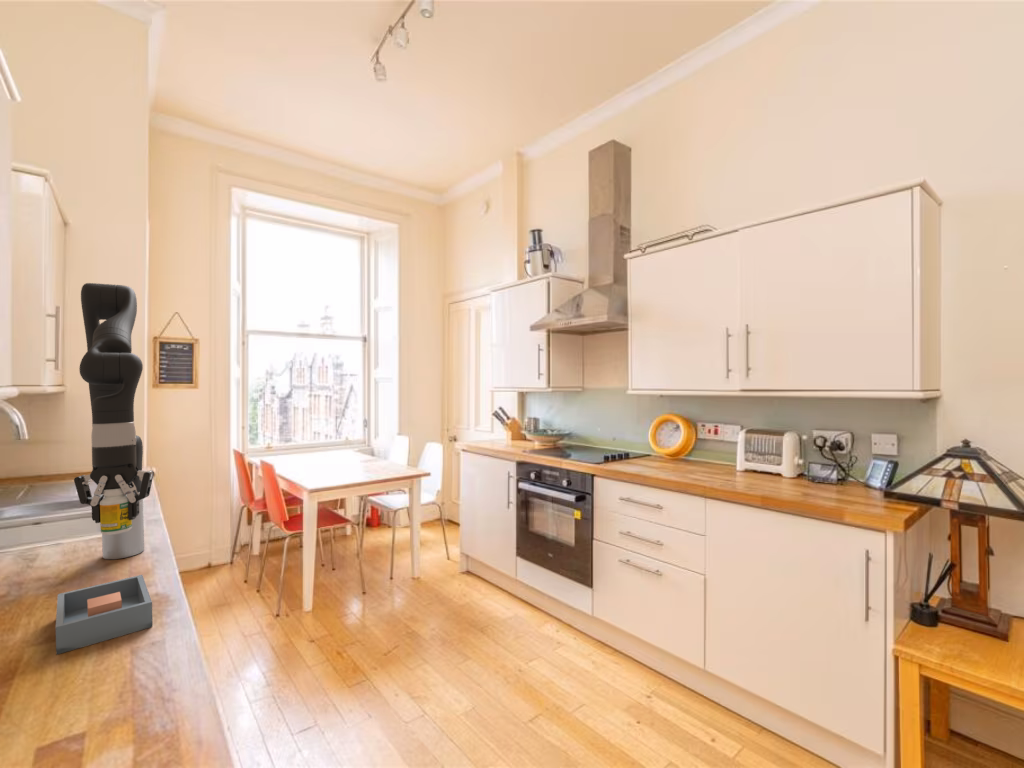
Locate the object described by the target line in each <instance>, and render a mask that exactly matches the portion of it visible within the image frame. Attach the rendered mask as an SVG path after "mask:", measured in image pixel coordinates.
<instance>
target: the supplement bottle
mask: <svg viewBox="0 0 1024 768" xmlns="http://www.w3.org/2000/svg"><path fill="white" fill-rule="evenodd" d="M103 495H104V496H105V498H104V499H102V500H101V501H100V523H99V524H100V534H101V535H102V534H103V535H112V534H119V533H123V532H126V531H129V530H130V529H131V528H132V520H129V515H128V503H130V501H129V500H128V498H127V496H126V495H125V494H124V493H123V491H122V489H121V488H119V489H107V490H103Z"/></svg>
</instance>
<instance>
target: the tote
mask: <svg viewBox="0 0 1024 768" xmlns="http://www.w3.org/2000/svg"><path fill="white" fill-rule="evenodd" d="M148 589H149V588H148V586H147V584H146V581H145V578H144V575H143V574H139V575H135V576H134V575H133V576H131V577H130V576H129V577H126V578H121V579H117V580H112V581H110V582H109V581H108V582H104V583H100V584H96V585H92V586H88V587H87V586H86V587H83V588H78V589H73V590H71V591H64V592H61V593H57V598H56V599H57V603H56V613H55V614H56V615H55V616H56V617H55V649H56V656H57V655H60V654H64V653H67V652H70V651H74V650H78V649H82V648H83V647H87V646H92V645H94V644H97V643H98V644H99V643H102V642H105V641H108V640H109V641H110V640H112V639H115V638H119V637H122V636H125V635H129V634H133V633H136V632H139V631H143V630H146V629H147V630H148V629H149V628H152V627H153V600H152V598H151V595H150V592H149V590H148ZM117 592H120V595H121V600H122V608H120V609H116V610H112V611H109V612H105V613H101V614H97V615H93V616H89V617H88V605H87V600H88V599H92V598H96V597H100V596H104V595H108V594H113V593H117Z"/></svg>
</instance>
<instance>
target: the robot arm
mask: <svg viewBox="0 0 1024 768" xmlns="http://www.w3.org/2000/svg"><path fill="white" fill-rule="evenodd" d="M137 299H138V298H137V294H136V292H135V290H134V289H133V288H132V287H130V286H129V285H128V286H127V285H124V284H110V283H98V282H96V283H95V282H94V283H93V282H92V283H91V282H87V283H83V285H82V286H81V290H80V303H81V310H82V318H83V327H84V331H85V338H86V339H85V340H86V347H87V350H86V352H85V354H84V355H83V357H82V358H81V360H80V362H79V367H78V368H79V370H78V371H79V375H80V377H81V378H82V380H83V381H84V382H86V383H87V384H88V390H89V396H90V397H89V399H90V407H91V419H92V420H91V422H92V423H91V424H92V425H91V426H92V427H91V428H92V429H91V466H92V469H91V472H90V474H82V475H79V476H75V477H74V478H73V481H74V485H75V490H76V493H77V496H78V500H79V503H80V504H81V505H89V506H90V507H91V520H92V521H94V522H95V524H100V501H101V500H102V499H104V498H105V496H104V495H103V490H107V489H119V488H121V489H122V491H123V493H124V494H125V495H126V496H127V498H128V500H129V501H130V503H128V515H129V520H132V528H131V529H130V530H129V531H126V532H123V533H119V534H112V535H103V534H102V533H101V544H102V558H103V559H105V560H117V559H123V558H130V557H133V556H136V555H139V554H140V553H143V552H144V551H145V524H144V523H145V522H144V521H145V519H144V517H145V516H144V499H145V498H147V497H149V496H150V493H151V488H152V484H153V479H154V474H155V472H154V471H153V470H147V471H146V470H143V457H144V456H143V454H144V448H143V447H144V446H143V441H142V439H141V437H140V436H139V435H136V434H137V433H136V427H135V412H134V411H135V405H134V404H135V396H136V391H137V388H138V385H139V382H140V379H141V376H142V373H143V369H144V368H143V367H144V365H143V362H142V360H141V358H140V357H139V356H138V355H137V354H135V353H133V352H132V350H133V349H132V333H133V330H134V327H135V321H136V318H137V312H138V301H137ZM101 320H102V322H100V321H101ZM91 480H92V481H93V482H94V483H95V484H96V485H97V486H96V487H95V491H94V492H93V495H92V492H91V489H90V486H89V485H90V484H91Z"/></svg>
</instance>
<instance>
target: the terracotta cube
mask: <svg viewBox="0 0 1024 768" xmlns="http://www.w3.org/2000/svg"><path fill="white" fill-rule="evenodd" d="M87 605H88V617H89V616H93V615H97V614H101V613H105V612H109V611H112V610H116V609H120V608H122V600H121V595H120V592H117V593H113V594H108V595H104V596H100V597H96V598H92V599H88V600H87Z"/></svg>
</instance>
